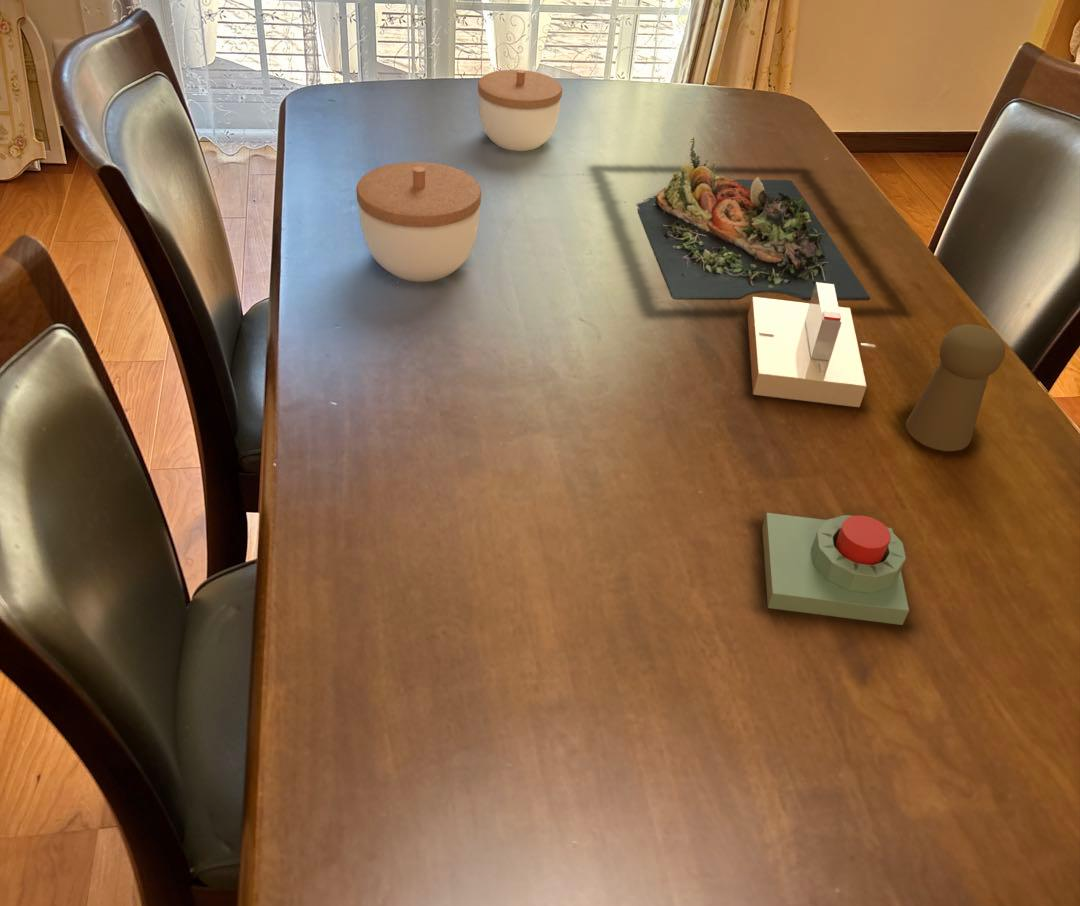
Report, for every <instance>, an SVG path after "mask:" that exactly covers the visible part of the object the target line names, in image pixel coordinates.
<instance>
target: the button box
mask: <svg viewBox="0 0 1080 906" xmlns="http://www.w3.org/2000/svg"><path fill="white" fill-rule="evenodd" d="M852 516H853V515H850V514H849V515H847V514H844V515H840V516H836V517H832V518H829V519H822V518H813V517H806V516H798V515H791V514H790V515H789V514H781V513H775V512H774V513H773V512H766V513H765V517H764V520H763V524H762V527H761V529H762V544H763V557H764V558H763V559H764V572H765V588H766V589H765V590H766V602H767V608H768V609H774V610H781V611H788V612H789V611H790V612H798V613H805V614H813V615H820V616H828V617H836V618H844V619H851V620H859V621H867V622H868V621H869V622H875V623H883V624H891V625H899V626H903V625H904V623H905V620H906V619H907V616H908V614H909V613H910V607H909V603H908V598H907V594H906V588H905V584H904V579H903V574H902V570H903V567H904V564H905V563H906V560H907V556H906V552H905V547H904V543H903V541H902V540H901V539H900V538H899V537H898V536H897V535H896V534H895V533H894V530H893V528H892V527H888V526H886V527H887V528H888V530H889V532H890V535H891V540H890V542H889V545H888V547H887V550H886V552H885V554H884V557H883V558H882V560H881V561H879V562H878V563H876V564H872V565H866V564H858V563H855V562H853V561H851V560H849V559H847V558H845V557H843V556H842V555H841V554H840V552H839V551H838V549H837V547H836V540H837V537H838V535H839V532H840V529H841V527H842V524H843V522H844V521H845V520H846V519H847V518H849V517H852Z"/></svg>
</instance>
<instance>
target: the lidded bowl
mask: <svg viewBox="0 0 1080 906" xmlns="http://www.w3.org/2000/svg"><path fill="white" fill-rule="evenodd" d="M356 201H357V204H358V213H359V214H358V215H359V223H360V228H361V232H362V236H363V239H364V242H365V245H366V247H367V249H368V251H369V254H371V256H372V258H373V259H374V261H376V263H377V264H378V265H380V266H381V267H382V268H383V269H384V270H385V271H387V272H388V273H390V274H391V275H393V276H395V277H396V278H399V279H402V280H406V281H410V282H411V281H412V282H432V281H437V280H441V279H444V278H446V277H447V276H450V275H451V274H453V273H454V272H456V271H457V270H458V269H459V268H460V267H461V266H462V265H463V264H464V263H465V262H466V260H468V258H469V256H470V254H471V252H472V251H473V248H474V246H475V242H476V240H477V236H478V235H477V234H478V228H479V224H480V206H481V204H482V203H481V202H482V189H481V186H480V184H479V183H478V181H477V180H476V179H475V178H474V177H473V176H471V175H470V174H468V173H467V172H465V171H463V170H461V169H458V168H456V167H453V166H449V165H445V164H441V163H436V162H435V163H434V162H427V161H426V162H425V161H404V162H396V163H391V164H386V165H383V166H380V167H377V168H374V169H372V170H370V171H369V172H367V173H365V174H364V175H363V176H362V177H360V179H359V180H358V182H357V184H356Z"/></svg>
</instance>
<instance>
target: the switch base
mask: <svg viewBox="0 0 1080 906" xmlns="http://www.w3.org/2000/svg"><path fill="white" fill-rule="evenodd" d="M809 304H810V302H801V301H794V300H793V301H792V300H784V299H775V298H768V297H758V296H751V300H750V305H749V310H748V314H747V328H748V342H749V355H750V356H749V357H750V370H751V372H750V373H751V385H752V395H753V396H761V397H762V396H763V397H770V398H777V399H787V400H794V401H795V400H796V401H805V402H812V403H821V404H828V405H829V404H830V405H837V406H846V407H852V408H860V407H861V406H862V405H861V403H862V401H863V399H864V395H865V394H866V393H865V392H866V390H867V386H868V385H867V380H866V376H865V371H864V367H863V363H862V358H861V357H862V356H861V351H860V348H859V345H860V347H863V348H873V349H875V348H876V344H874V343H873V344H872V343H864V342H861V343H860V344H859V343H858V339H857V334H856V328H855V323H854V320H853V314H852V310H851V309H852V308H851V307H844V306H839V311H840V316H841V321H842V323H841V326H840V330H839V333H838V336H837V339H836V342H835V346H834V349H833V352H832V355H831V359H830V360H821V359H812V358H811V354H810V348H809V341H808V335H807V328H806V321H805V319H806V315H807V311H808V308H809Z"/></svg>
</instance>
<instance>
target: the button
mask: <svg viewBox="0 0 1080 906" xmlns="http://www.w3.org/2000/svg"><path fill="white" fill-rule="evenodd" d="M851 516H852V517H849V518H847V519H846V520H845V521H844V522H843V524H842V527H841V529H840V532H839V535H838V537H837V540H836V547H837V549H838V551H839V552H840V554H841V555H842V556H843V557H845V558H847V559H849V560H851V561H853V562H855V563H858V564H866V565H872V564H876V563H878V562H879V561H881V560H882V558H883V557H884V554H885V552H886V550H887V547H888V545H889V542H890V540H891V535H890V532H889V530H888V528H889V527H888V526H886V525H885V524H884V523H883V522H881V521H880V520H878V519H876V518H874V517H871V516H867V515H851ZM887 527H888V528H887Z"/></svg>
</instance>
